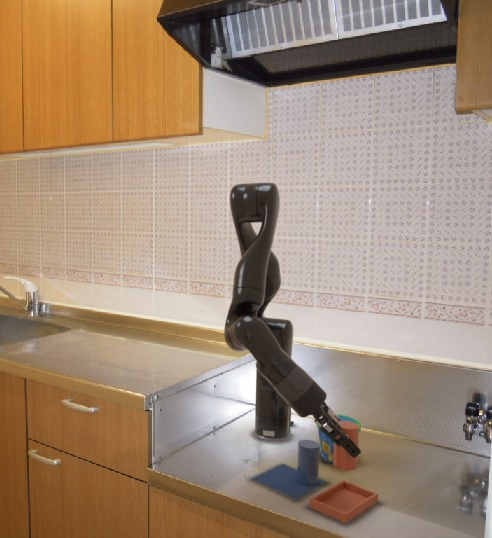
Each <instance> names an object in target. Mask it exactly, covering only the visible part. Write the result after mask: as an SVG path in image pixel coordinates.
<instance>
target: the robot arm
mask: <svg viewBox="0 0 492 538" xmlns="http://www.w3.org/2000/svg"><path fill="white" fill-rule="evenodd" d="M280 206H281V198H280V191H279V188H278V186H277V184H276V183H274V182H249V183H239V184H235V185H233V186H232V188H231V189H230V193H229V207H230V213H231V218H232V222H233V227H234V230H235V234H236V237H237V241H238V247H239V252H240V253H239V254H240V259H239V260H238V262H237V264H236V267H235V270H234V274H233V284H232V294H231V301H230V305H229V308H228V312H227V315H226V319H225V324H224V329H223V331H224V332H223V334H224V335H223V336H224V341H225V344H226V345H227V347H229V349H231V350H232V351H234V352H238V353H242V352H243V353H244V352H246V351H248V352H249V353H250V354H251V356H252V357H253V358H254V359H255V368H256V372H255V373H256V374H255V405H254V406H255V408H254V409H255V410H254V411H255V413H254V436H255V437H256V438H258V439H259V440H262V441H265V442H270V443H280V442H284V441H288V439H289V438H290V435H291V428H292V427H291V426H293V425H294V423H295V422H294V421H293V420H292V410H293V411H294V412H295V414H296V415H298V416H299V418H307V417H309V416H312V417H313V419H314V420H313V421H314V424H317V425H318V426H319V427H320V429H321V431H323V432H324V433H325V434H326V435H327V436H328V437H329V438H330V439H331V440H332V441H333V442H334V443H336V445H337V446H339V447H340V446H342V447H343V448H344V449H345V450H346V451H347V452H348V453H349V454H350V455H351V456H352V457H353V458H355V457H356V456H358V457H359V455H361V453H362V450H361V448H360V447H359V445H358V446H357V445H356V444H355V443H354V442H353V441H352V440H351V439H350V438H349V436H348V435H347V434H346V433H345V432H344V431H343V430H342V425H341V424H340V423H339V422H338V421H341V419H340V418H338V416H337V415H336V414H337V413H336V412H334V411H333V410H332V408H331V406H330V405H328V404H327V403H326V399H327V398H328V397H327V392H326V391H325V390H324V389H323V388H322V387H321V386H320V385H319V384H318V383H317V382H316V381H315V380H314V379H313V378H312V376H310V374H309V373H308V372H306V370H305V369H303V368H302V367H301V366H300V365H299V364H297V362H295V360H293V358H292V355H293V354H292V353H293V343H294V326H293V323H292V321H291V320H289V319H286V318H285V319H284V318H276V317H275V318H273V317H266V316H265V312H266V310H267V307H268V306H269V304H270V303H271V302H272V301H273V299H274V298H275V297H276V296H277V294H278V293H279V290H280V288H281V286H282V276H281V275H282V274H281V267H280V261H279V259H278V257H277V256H276V254H275V253H274V251H273V250H272V248H273V243H274V239H275V234H276V230H277V224H278V220H279V215H280V214H279V213H280ZM252 223H253V224H254V223H256V224H258V223H261V225H260V229H259V231H258V233H256V231H255V229H254V227H253V224H252ZM317 425H316V426H317ZM336 425H337V427H336ZM338 435H341V436H342V437H340V438H339V439H338V438H337V437H336V436H338Z"/></svg>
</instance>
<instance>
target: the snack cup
mask: <svg viewBox="0 0 492 538" xmlns="http://www.w3.org/2000/svg"><path fill="white" fill-rule="evenodd" d="M335 414H336V415H337V416H338V418H340V419H341V421H350V422H354V423H356V424H358V425H359V433H361V430H362V429H361V428H362V424H361V422H360V421H359V420H358V419H355V418H354V417H351V416H349V415H344V414H337V413H335ZM315 424H316V423H315ZM316 428H317V431H318V443H319V445H320V457H321V458H322V459H323V461H324V462H325V463H329V464H331V465H333V456H334V442H333V441H332V440H331V439H330V438H329V437H328V436H327V435H326V434H325V433H324V432H323V431H321V429H320V427H319V426H318V425H317V424H316Z"/></svg>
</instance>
